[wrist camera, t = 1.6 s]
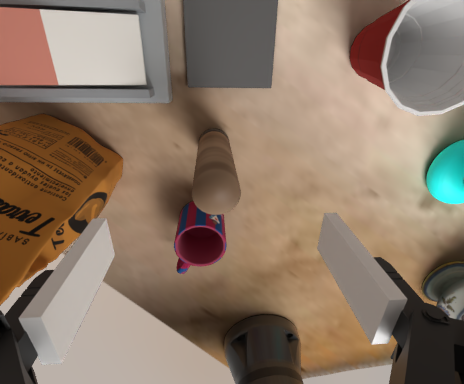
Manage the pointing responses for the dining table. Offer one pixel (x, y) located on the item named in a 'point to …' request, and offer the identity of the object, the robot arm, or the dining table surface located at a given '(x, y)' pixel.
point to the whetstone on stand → (156, 91)
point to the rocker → (70, 48)
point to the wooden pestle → (215, 174)
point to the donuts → (448, 174)
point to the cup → (199, 238)
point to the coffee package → (47, 192)
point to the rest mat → (230, 42)
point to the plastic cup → (416, 55)
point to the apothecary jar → (447, 288)
